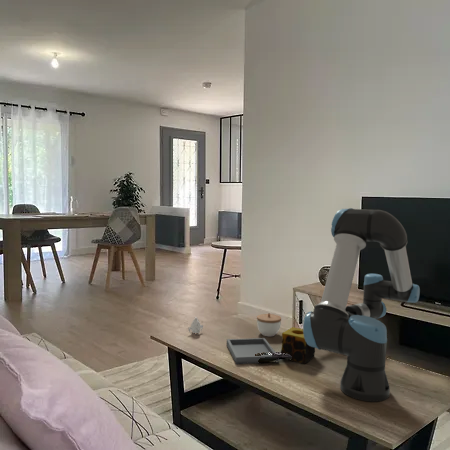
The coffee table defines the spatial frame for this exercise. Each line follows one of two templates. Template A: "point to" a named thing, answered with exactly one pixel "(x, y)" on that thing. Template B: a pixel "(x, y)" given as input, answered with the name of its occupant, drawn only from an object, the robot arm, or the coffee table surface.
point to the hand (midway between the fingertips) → (318, 321)
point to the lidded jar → (268, 324)
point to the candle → (296, 346)
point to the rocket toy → (195, 326)
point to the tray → (248, 349)
